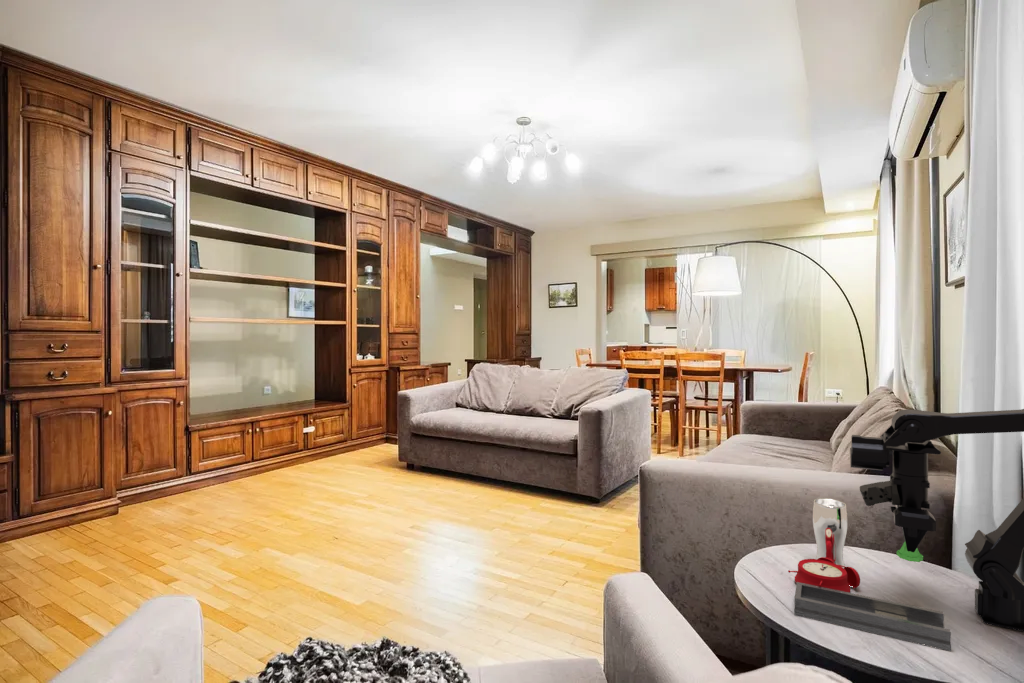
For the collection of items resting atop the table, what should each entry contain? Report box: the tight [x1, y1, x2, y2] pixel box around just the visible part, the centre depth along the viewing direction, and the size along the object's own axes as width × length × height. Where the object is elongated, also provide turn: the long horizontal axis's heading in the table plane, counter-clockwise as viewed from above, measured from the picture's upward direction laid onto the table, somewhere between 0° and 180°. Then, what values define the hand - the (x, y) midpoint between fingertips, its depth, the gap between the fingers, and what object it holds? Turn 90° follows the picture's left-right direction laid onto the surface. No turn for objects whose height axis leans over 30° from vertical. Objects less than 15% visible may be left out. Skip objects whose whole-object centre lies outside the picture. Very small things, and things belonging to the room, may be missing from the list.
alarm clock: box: [787, 557, 861, 593], centre depth 115 cm, size 10×6×15 cm
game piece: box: [896, 541, 924, 563], centre depth 107 cm, size 4×4×6 cm
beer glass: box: [812, 497, 848, 568], centre depth 124 cm, size 7×7×15 cm
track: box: [794, 582, 952, 652], centre depth 101 cm, size 24×9×3 cm, turn 59°
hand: (910, 549), depth 107 cm, fingers closed on game piece, 2 cm apart
